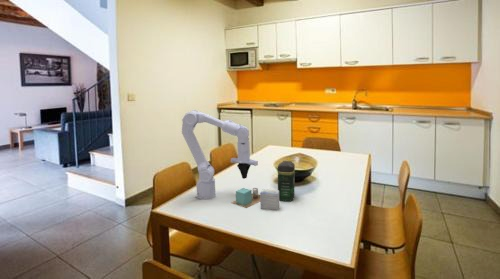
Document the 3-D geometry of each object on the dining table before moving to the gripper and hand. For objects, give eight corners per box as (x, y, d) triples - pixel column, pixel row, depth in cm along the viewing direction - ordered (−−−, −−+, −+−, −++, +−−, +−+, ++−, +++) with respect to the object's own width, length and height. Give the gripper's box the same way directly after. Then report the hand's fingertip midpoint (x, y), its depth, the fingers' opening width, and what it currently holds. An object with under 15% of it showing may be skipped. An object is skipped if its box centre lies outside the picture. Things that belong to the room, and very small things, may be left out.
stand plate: (230, 204, 142) (230, 202, 141) (253, 194, 153) (253, 193, 153) (246, 209, 135) (246, 208, 135) (268, 199, 147) (268, 197, 146)
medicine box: (279, 208, 136) (279, 189, 134) (277, 212, 132) (277, 193, 130) (262, 206, 138) (262, 188, 136) (260, 210, 134) (260, 192, 132)
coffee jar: (293, 203, 140) (293, 165, 137) (276, 202, 142) (275, 164, 139) (295, 196, 149) (295, 160, 146) (280, 195, 151) (279, 159, 148)
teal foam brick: (236, 203, 141) (235, 191, 140) (243, 199, 145) (243, 187, 143) (244, 205, 137) (243, 193, 136) (251, 202, 141) (251, 190, 140)
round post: (251, 197, 147) (251, 189, 146) (255, 196, 149) (255, 187, 148) (255, 199, 145) (255, 190, 144) (259, 197, 147) (259, 188, 146)
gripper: (226, 151, 146) (227, 178, 149) (252, 154, 139) (253, 182, 141) (234, 148, 152) (235, 174, 155) (259, 151, 145) (260, 178, 147)
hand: (244, 177), depth 148 cm, fingers closed
